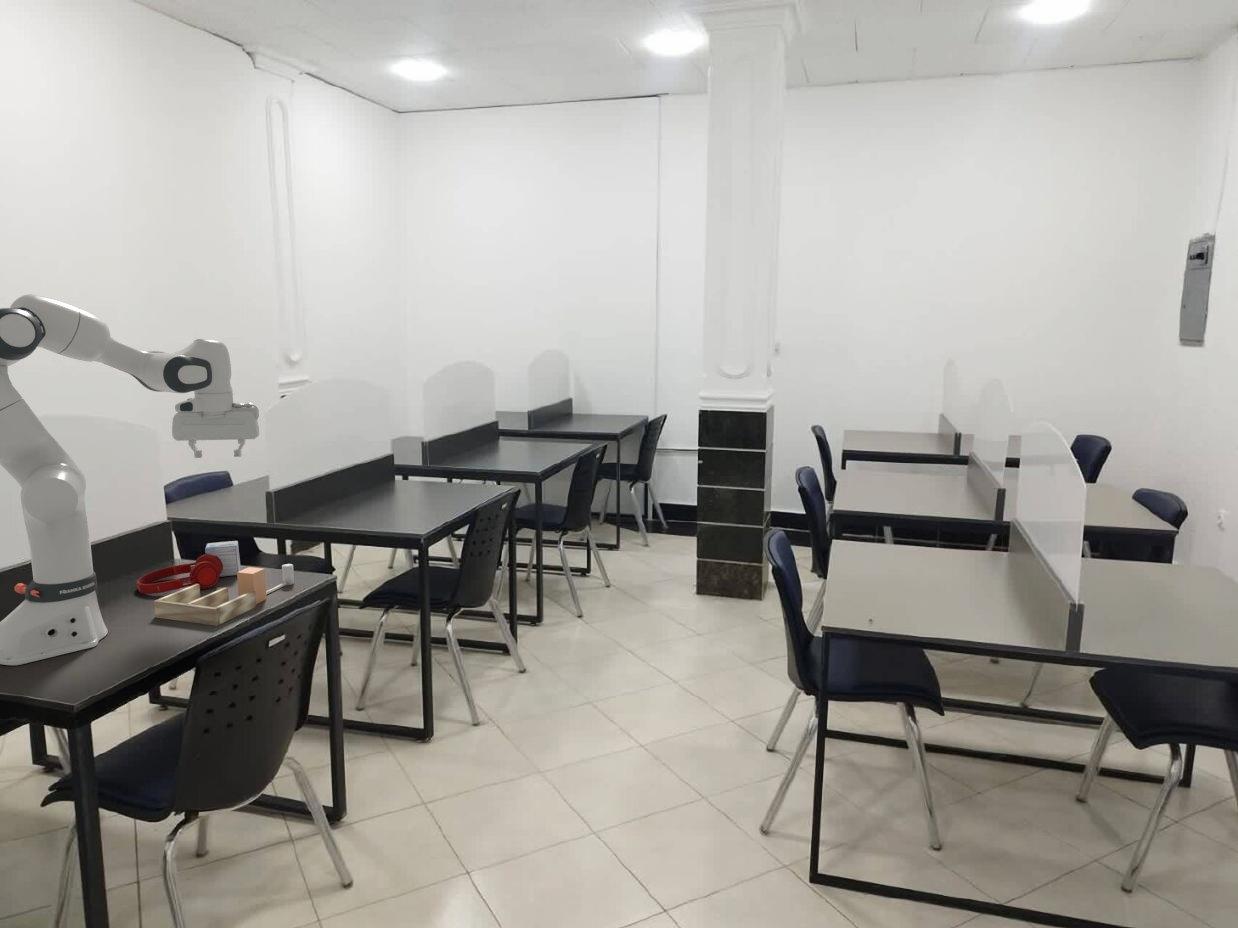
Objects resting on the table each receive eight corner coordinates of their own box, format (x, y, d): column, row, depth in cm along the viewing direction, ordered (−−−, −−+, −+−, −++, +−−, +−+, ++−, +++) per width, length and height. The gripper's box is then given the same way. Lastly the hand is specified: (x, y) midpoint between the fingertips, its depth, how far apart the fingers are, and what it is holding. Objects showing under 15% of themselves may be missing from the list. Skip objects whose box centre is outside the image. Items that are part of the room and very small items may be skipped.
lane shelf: (216, 625, 200) (215, 609, 200) (155, 617, 205) (153, 600, 204) (256, 606, 213) (255, 591, 212) (197, 599, 218) (196, 583, 217)
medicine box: (241, 570, 240) (238, 540, 238) (239, 575, 236) (236, 545, 234) (209, 573, 238) (206, 542, 236) (208, 578, 234) (204, 548, 232)
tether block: (254, 604, 214) (252, 573, 213) (239, 603, 215) (236, 572, 214) (299, 582, 232) (297, 553, 230) (284, 581, 233) (282, 552, 231)
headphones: (227, 572, 238) (147, 588, 232) (221, 548, 236) (140, 563, 231) (220, 589, 224) (135, 607, 219) (214, 563, 222) (128, 580, 217)
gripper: (260, 401, 226) (263, 453, 229) (174, 402, 222) (179, 455, 224) (255, 404, 220) (259, 458, 223) (168, 405, 216) (172, 460, 218)
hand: (218, 457), depth 224 cm, fingers open, 8 cm apart
